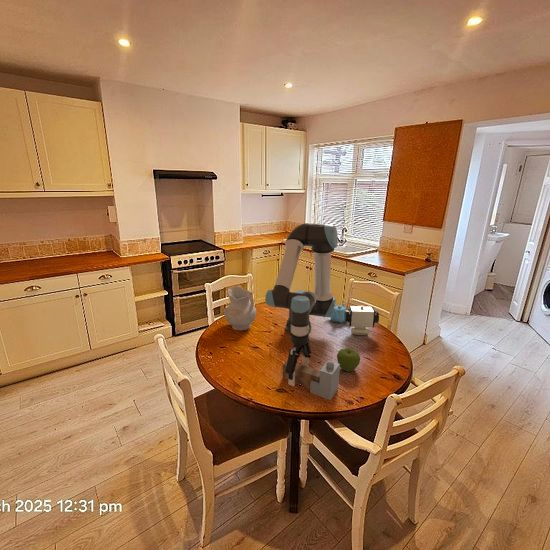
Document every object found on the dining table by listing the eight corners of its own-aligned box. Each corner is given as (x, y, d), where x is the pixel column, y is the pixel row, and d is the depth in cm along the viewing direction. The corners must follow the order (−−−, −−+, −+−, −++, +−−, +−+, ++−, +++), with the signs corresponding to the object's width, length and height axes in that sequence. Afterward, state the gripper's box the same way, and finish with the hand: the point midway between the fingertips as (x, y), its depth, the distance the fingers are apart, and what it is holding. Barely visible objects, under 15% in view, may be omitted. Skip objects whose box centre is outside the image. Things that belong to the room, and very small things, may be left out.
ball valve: (373, 331, 176) (376, 303, 171) (377, 338, 168) (380, 309, 162) (342, 330, 177) (344, 302, 172) (344, 336, 169) (346, 308, 164)
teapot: (352, 324, 185) (353, 309, 182) (332, 326, 183) (333, 310, 180) (343, 315, 197) (344, 301, 194) (324, 317, 195) (325, 302, 192)
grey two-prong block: (310, 392, 124) (311, 362, 120) (318, 381, 131) (320, 352, 127) (330, 400, 119) (332, 369, 115) (338, 388, 126) (340, 358, 122)
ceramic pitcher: (265, 327, 184) (266, 288, 178) (246, 337, 168) (246, 295, 162) (238, 319, 195) (238, 282, 189) (217, 328, 179) (217, 288, 173)
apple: (334, 362, 145) (335, 344, 142) (356, 362, 145) (357, 344, 142) (338, 375, 135) (339, 356, 132) (361, 376, 134) (363, 357, 131)
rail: (282, 377, 133) (282, 364, 131) (287, 373, 136) (287, 360, 134) (319, 392, 124) (320, 377, 122) (323, 387, 127) (324, 372, 125)
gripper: (293, 347, 113) (292, 395, 119) (320, 323, 132) (318, 366, 139) (276, 342, 117) (276, 389, 123) (304, 320, 136) (303, 361, 142)
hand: (298, 377), depth 131 cm, fingers open, 12 cm apart
